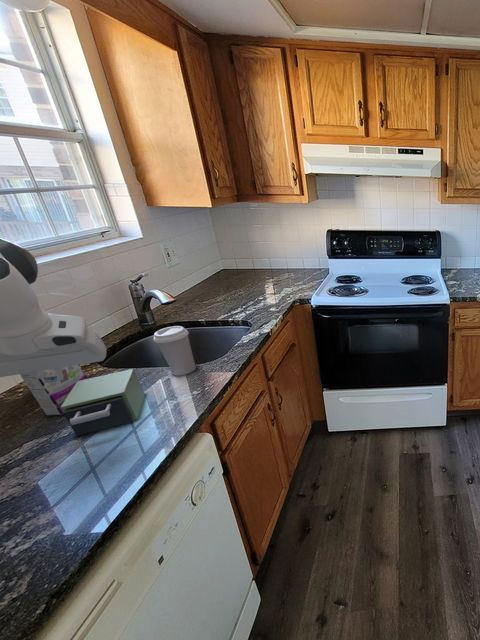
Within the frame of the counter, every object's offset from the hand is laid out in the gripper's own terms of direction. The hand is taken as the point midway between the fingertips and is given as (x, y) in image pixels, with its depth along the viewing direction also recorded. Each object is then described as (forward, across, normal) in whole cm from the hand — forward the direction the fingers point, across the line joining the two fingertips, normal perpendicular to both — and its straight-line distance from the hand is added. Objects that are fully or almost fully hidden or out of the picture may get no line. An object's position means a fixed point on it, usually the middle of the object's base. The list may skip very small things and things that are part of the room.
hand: (54, 379), depth 80 cm
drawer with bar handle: (+23, +3, +5) cm, 24 cm away
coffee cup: (+31, +20, +25) cm, 45 cm away
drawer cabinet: (+26, +3, +9) cm, 28 cm away
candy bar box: (+32, -8, +21) cm, 39 cm away
